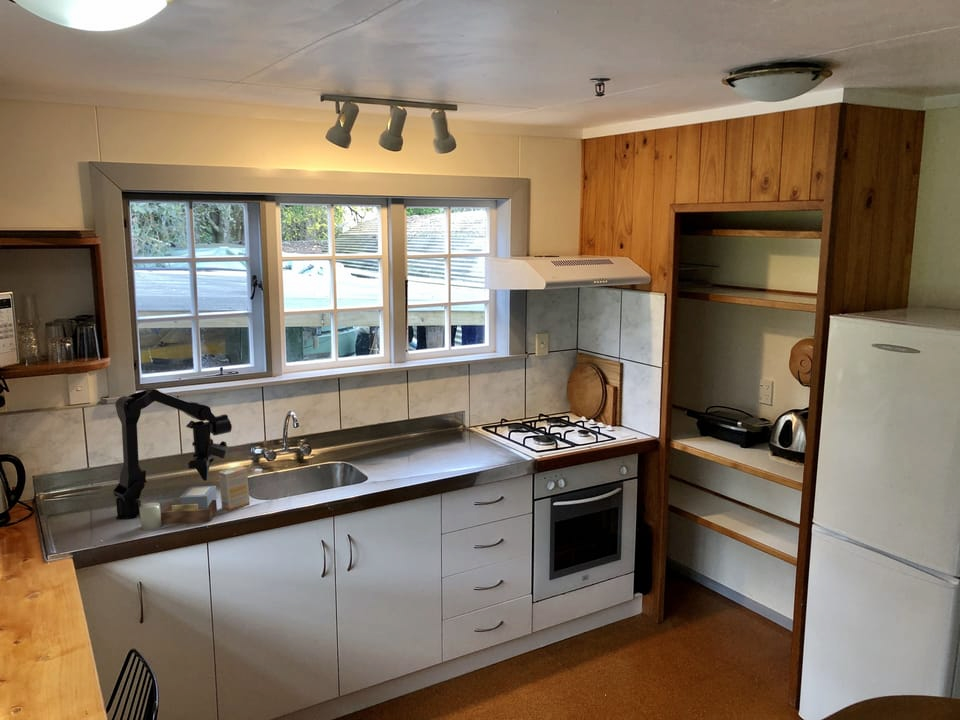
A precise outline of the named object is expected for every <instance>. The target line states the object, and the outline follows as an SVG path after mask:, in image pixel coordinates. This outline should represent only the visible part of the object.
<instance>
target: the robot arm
mask: <svg viewBox="0 0 960 720" xmlns="http://www.w3.org/2000/svg"><path fill="white" fill-rule="evenodd" d="M155 402H157V403H159V404H162V405H164V406H167V407H170V408H173V409H177V410H179V411H181V412H182V413H184V414H185V415H187V416H189V417H190V418H192V419H194V420H198V421H194V420H190V421H189V422H188V423H187V424H186V426H185V427H186V428H189V429H192V436H193V437H192V438H193V442H192V447H193V448H194V450H193V451H194V453H193V457H192V458H191V460H189V462H188V463H187V464H188V470H189V469H190V470H191V469H196V471H197V472H198V474H199V475H200V477H201V479H202V480H203V481H205V482H206V481H208V477H209V472H210V466H211V464H213V462H214V460H215V458H213V457H212V458H211V456H215V457H217V458H220V459H225V458H226V456H227V454H228V451H229V446H228V445H227V442H226V441H223V440H222V441H220V443H215V442H214V439H213V438H212V437H211V434H212V436H218V435H223V434H228V433H231V432H232V429H233V428H232V427H233V425H232V422H231V420H230V419H229V417H228V414H226V413H224V414H220V415H217V416H216V415H214V414H213V413H212V409H211V407H210V406H209V405H207V404H205V403H200V402H196V401H188V400H184V399H182V398H179V397H177V396H173V395H171V394H168V393H165V392H162V391H160V390H159V389H157V388H152V387H149V388H146V389H144V390H142V391H139V392H135V393H131V394H129V395H123V396H120V397H118V399H117V400H116V401H115V409H116V414H117V417H118V419H119V421H120V424H121V435H122V456H123V459H122V460H123V466H122V469H121V471H120V474H119V480H118V484H117V485H116V487H115V488H114V489H113V490H112V493H113V494H112V495H114V497H116V499H115V504H116V513H117V514H116V516H115V519H116V520H118V519H121V520H122V519H136V518H137V517H138V516H140V509H139V507H140V506H141V505H142V501H141V499H140V498H141V495H142V491H143V489H145V486H146V483H148V481H147V480H146V479H147V478H146V476H147V470H146V469H143V468H141V467H140V463H139V462H140V461H139V460H140V459H139V445H138V444H139V439H138V438H139V437H138V422H139V419H140V417H141V413H142V410H144V409H146V408H147V407H148V406H150V405H151V404H152V403H155Z"/></svg>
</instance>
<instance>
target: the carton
mask: <svg viewBox="0 0 960 720" xmlns="http://www.w3.org/2000/svg"><path fill="white" fill-rule="evenodd" d="M217 499H218V497H217V485H207V486H206V485H204V486H203V485H201V486H200V485H199V486H189V487H188V488H187V489H186V490H185V491H184V492H183V493H182V495H181V496H179V505H186V504H198V509H207V507H208V506H209V504H210V503H211V501H212V500H216V501H217Z"/></svg>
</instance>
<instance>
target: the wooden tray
mask: <svg viewBox="0 0 960 720" xmlns="http://www.w3.org/2000/svg"><path fill="white" fill-rule="evenodd" d="M160 511H161V522H162V525H177V524H179V525H180V524H190V523H191V524H192V523H207V522H208V523H209V522H212V520H213V518H214V517H215V515H216V514H217V512H218V505H217V499H216V500H212V501H211V503H210V504H209V506H208V507H207V509H198V504H186V505H180V504H174V505H173V502H168V503H167V504H166V505H165V506H164V507H163V508H162V509H161V510H160Z"/></svg>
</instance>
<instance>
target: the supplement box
mask: <svg viewBox="0 0 960 720" xmlns="http://www.w3.org/2000/svg"><path fill="white" fill-rule="evenodd" d="M247 469H248V468H247V467H245V466H241V465H237V466H234V467H230V468H228V469H227V468H226V469H224V470H220V471H218V479H219V490H220V492H219V493H220V501H221V508H222V509H224V510H226V511H232V510H236V509H238V508H242V507H244V506H247V505H250V504H251V503H250V492H249V491H250V490H249V489H250V488H249V482H248V481H249V479H248V470H247Z"/></svg>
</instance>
